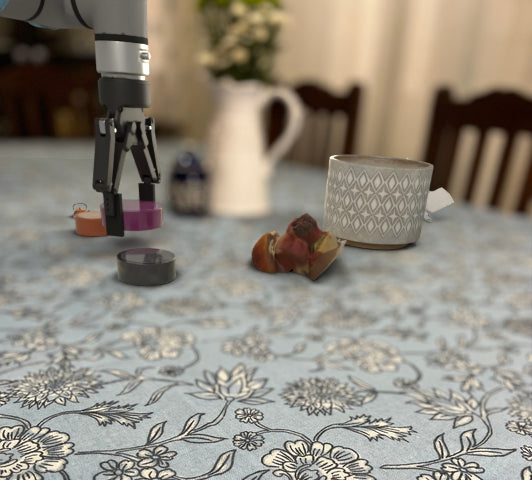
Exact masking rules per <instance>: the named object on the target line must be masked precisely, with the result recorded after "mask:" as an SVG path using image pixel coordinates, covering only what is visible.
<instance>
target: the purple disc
mask: <svg viewBox="0 0 532 480" xmlns="http://www.w3.org/2000/svg"><path fill="white" fill-rule="evenodd" d="M122 205H123V221H124V232H145V231H152V230H156V229H159V228H163V226H164V206H163V204H161V203H160V202H157V201H155V202H153V201H146V200H139V199H122ZM99 212H100V214H101V224H102V226H104V227H106V220H105V212H104V201H103V202H101V203H100V204H99Z"/></svg>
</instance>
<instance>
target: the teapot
mask: <svg viewBox="0 0 532 480" xmlns="http://www.w3.org/2000/svg"><path fill="white" fill-rule="evenodd" d="M79 204H81V205H84V206H85V209H82V208H81V207H79V208H78V209H75V208H74V207H75V206H76V205H79ZM72 209H73V210H74V211H73V214H72V217H73V218H74V219H75V217H74V215H75V214H77V213H81V212H91V210H90V209H88V206H87V204H86V203H83V202H77V203H73V205H72Z"/></svg>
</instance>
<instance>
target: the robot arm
mask: <svg viewBox="0 0 532 480" xmlns="http://www.w3.org/2000/svg"><path fill="white" fill-rule="evenodd" d="M1 17H2V18H8V19H13V20H18V21H22V22H26V23H28V24H30V26H31V25H32V26H34V27H36V28H43V29H50V30H52V31H54V30H60V29H67V30H68V29H70V30H71V29H72V30H73V29H76V30H77V29H82V30H84V29H86V30H87V29H88V30H93V35H94V36H93V37H94V53H95V65H96V67H95V68H96V72H97V73H98V74H100V75H101V77H99V78H98V79H97V87H98V89H97V90H98V99H99V104H100V106H103V107H106V108H107V113H106V118H104V117H95V118H94V122H93V124H94V133H95V141H94V154H93V155H94V157H93V169H92V170H93V171H92V183H91V185H92V189H93V190H94V191H95V192H96V193H101V194H102V198H103V200H102V201H103V202H104V212H105V220H106V232H107V235H106V236H110V237H111V236H112V237H117V238H124V237H125V231H124V221H123V205H122V200H123V194H122V193H120V192H119V189H120V184H121V180H122V175H123V170H124V165H125V161H126V156H127V154H128V152H129V151H130V152H131V155H132V159H133V161H134V164H135V167H136V169H137V172H138V175H139V178H140V181H141V182H138V183H137V184H138V200H146V201H153V202H156V184H157V185H161V183H162V176H163V175H162V167H161V162H160V161H161V160H160V156H159V155H160V154H159V150H158V144H157V138H156V125H155V124H156V122H155V118H154V117H153V116H145V114H144V109H150V108H151V105H152V92H151V91H152V90H151V83H150V81H148V80H146V79H147V78H146V77H149V76H150V60H151V53H150V51H149V33H148V32H149V31H148V29H149V28H148V27H149V26H148V0H0V18H1Z"/></svg>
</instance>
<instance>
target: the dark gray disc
mask: <svg viewBox="0 0 532 480" xmlns="http://www.w3.org/2000/svg"><path fill="white" fill-rule="evenodd" d="M115 258H116V270H117V279H118V280H119V281H121V282H122V283H125V284H128V285H133V286H142V287H152V286H153V287H154V286H160V285H161V286H162V285H165V284H169V283H171V282H173V281H174V280H175V279H176V277H177V266H176V265H177V264H176V261H177V260H176V259H177V258H176V255H175V253H173V252H172V251H169V250H167V249H162V248H154V247H138V248H130V249H126V250H122V251H120V252H119V253H117V254H116V257H115Z"/></svg>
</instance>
